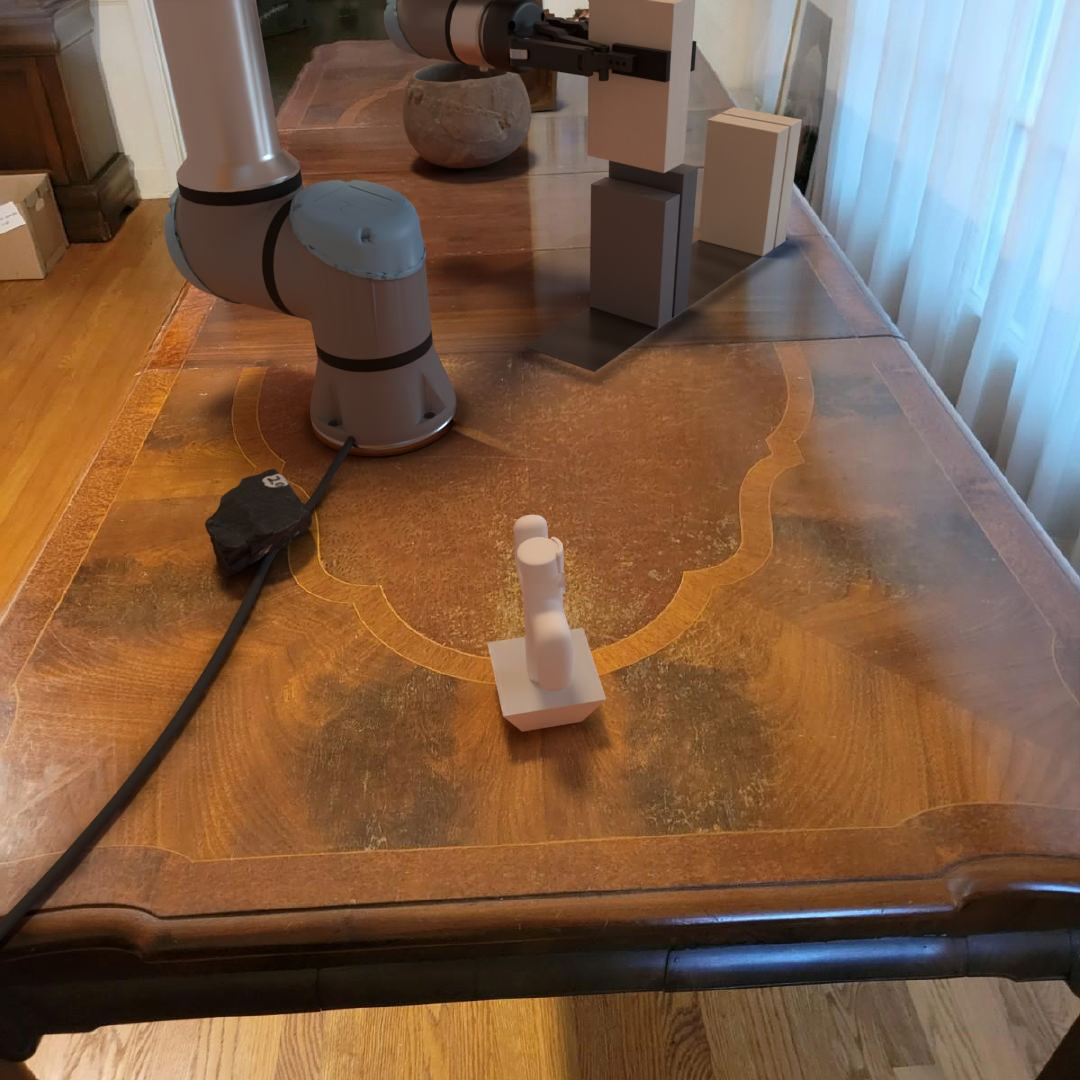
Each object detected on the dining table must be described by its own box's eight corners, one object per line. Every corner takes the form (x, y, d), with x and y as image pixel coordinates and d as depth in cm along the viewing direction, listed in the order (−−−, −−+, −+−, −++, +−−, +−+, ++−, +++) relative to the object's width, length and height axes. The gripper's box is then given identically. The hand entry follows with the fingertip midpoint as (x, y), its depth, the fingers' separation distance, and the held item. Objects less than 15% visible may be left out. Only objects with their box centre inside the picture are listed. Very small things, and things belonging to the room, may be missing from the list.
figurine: (508, 763, 68) (496, 604, 59) (487, 666, 75) (475, 511, 66) (609, 745, 69) (614, 587, 60) (579, 651, 76) (580, 497, 67)
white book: (663, 173, 103) (673, 3, 93) (587, 155, 108) (588, -9, 98) (684, 162, 105) (696, -5, 95) (607, 145, 110) (611, -15, 100)
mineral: (189, 534, 89) (173, 482, 85) (281, 497, 93) (269, 446, 89) (234, 594, 83) (219, 540, 79) (330, 552, 87) (320, 499, 83)
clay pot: (404, 186, 158) (393, 87, 149) (412, 146, 175) (403, 54, 165) (534, 182, 159) (531, 83, 149) (530, 142, 175) (528, 50, 165)
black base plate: (594, 381, 109) (594, 372, 108) (524, 356, 114) (524, 346, 113) (788, 246, 136) (789, 238, 135) (725, 230, 141) (726, 222, 140)
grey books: (658, 328, 115) (666, 183, 105) (589, 306, 120) (590, 166, 110) (687, 308, 119) (698, 166, 109) (619, 288, 124) (623, 150, 114)
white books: (762, 256, 131) (778, 132, 121) (697, 240, 136) (707, 119, 126) (785, 241, 135) (802, 119, 125) (721, 225, 140) (733, 107, 130)
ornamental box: (471, 82, 217) (454, -11, 206) (550, 67, 216) (537, -28, 205) (477, 125, 189) (457, 19, 178) (567, 107, 189) (553, 1, 177)
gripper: (548, 53, 117) (721, 82, 105) (452, 86, 106) (631, 122, 95) (547, -18, 112) (727, 3, 100) (446, 9, 102) (634, 37, 90)
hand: (680, 61), depth 98 cm, fingers closed on white book, 4 cm apart
